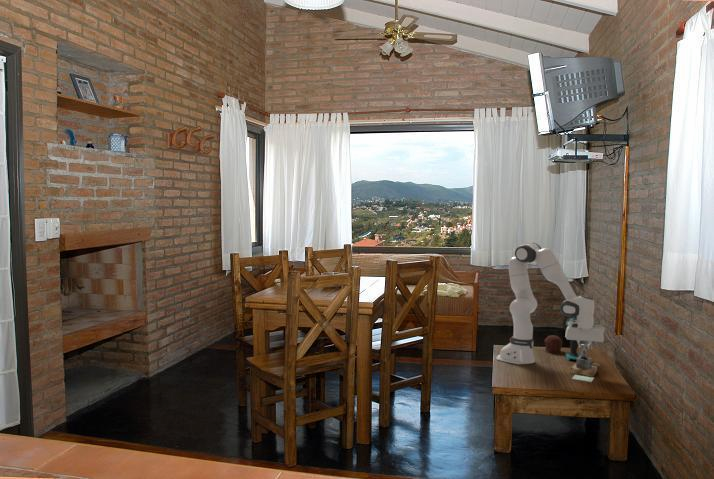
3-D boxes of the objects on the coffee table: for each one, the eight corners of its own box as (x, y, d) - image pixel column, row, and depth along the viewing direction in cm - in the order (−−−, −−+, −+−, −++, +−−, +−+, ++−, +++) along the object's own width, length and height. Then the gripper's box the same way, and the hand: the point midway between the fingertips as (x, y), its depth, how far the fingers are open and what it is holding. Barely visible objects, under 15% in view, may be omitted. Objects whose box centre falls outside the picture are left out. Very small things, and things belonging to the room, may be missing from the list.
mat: (571, 379, 307) (571, 378, 307) (574, 375, 314) (574, 374, 314) (591, 382, 302) (591, 381, 302) (594, 378, 308) (594, 377, 308)
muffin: (563, 353, 359) (563, 338, 358) (545, 352, 361) (545, 337, 360) (561, 349, 370) (561, 334, 369) (543, 348, 373) (543, 333, 372)
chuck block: (570, 373, 318) (570, 359, 317) (575, 367, 328) (575, 354, 327) (597, 377, 310) (597, 363, 310) (600, 371, 320) (601, 358, 320)
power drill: (586, 366, 332) (587, 324, 330) (570, 365, 333) (571, 323, 332) (578, 354, 357) (579, 315, 355) (563, 353, 359) (564, 314, 357)
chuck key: (579, 360, 324) (580, 342, 323) (584, 360, 323) (585, 342, 322) (581, 364, 316) (582, 346, 315) (586, 364, 316) (587, 346, 315)
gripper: (603, 324, 319) (602, 348, 320) (565, 321, 323) (564, 345, 324) (605, 326, 313) (604, 351, 314) (567, 324, 317) (565, 348, 318)
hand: (583, 348), depth 319 cm, fingers closed on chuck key, 3 cm apart
